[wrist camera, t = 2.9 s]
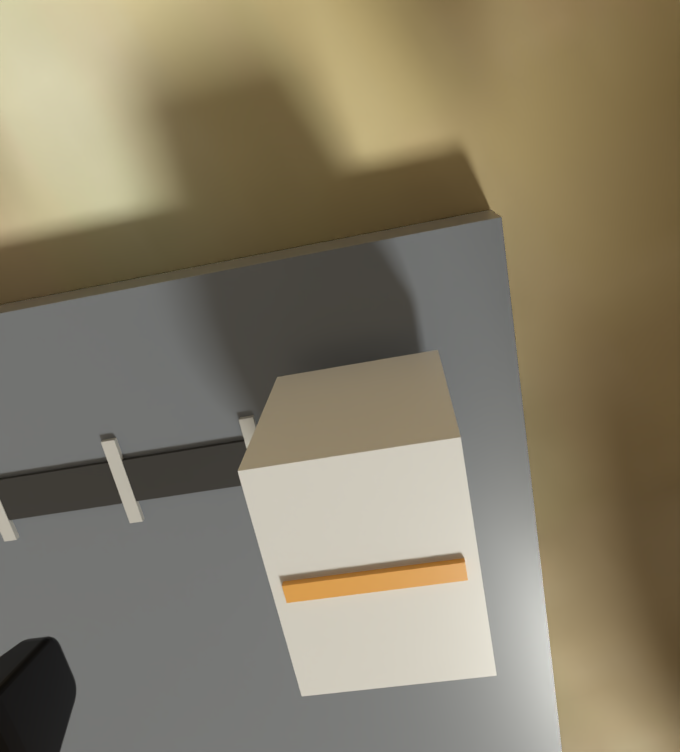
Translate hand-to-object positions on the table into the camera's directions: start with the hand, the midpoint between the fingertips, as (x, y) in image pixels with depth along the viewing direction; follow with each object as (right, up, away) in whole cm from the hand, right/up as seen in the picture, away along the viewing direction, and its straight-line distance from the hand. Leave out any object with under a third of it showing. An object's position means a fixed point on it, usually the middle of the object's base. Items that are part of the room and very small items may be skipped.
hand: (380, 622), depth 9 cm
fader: (0, +2, +5) cm, 5 cm away
